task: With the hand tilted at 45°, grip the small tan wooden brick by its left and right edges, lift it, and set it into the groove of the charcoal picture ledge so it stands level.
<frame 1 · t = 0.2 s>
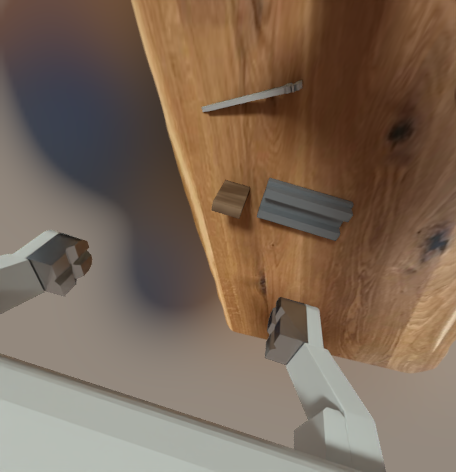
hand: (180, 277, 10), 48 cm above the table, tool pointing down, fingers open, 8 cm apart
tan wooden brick: (236, 187, 60), on the table
caliper: (249, 96, 48), on the table
picture ledge: (302, 207, 59), on the table
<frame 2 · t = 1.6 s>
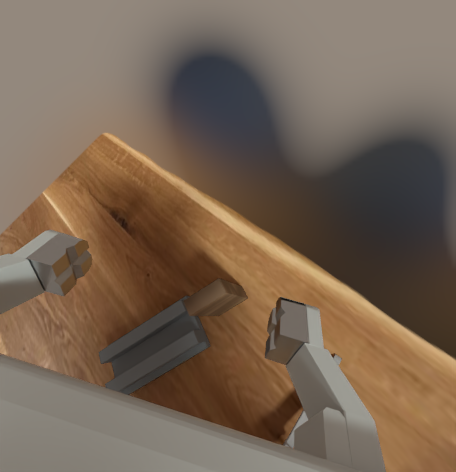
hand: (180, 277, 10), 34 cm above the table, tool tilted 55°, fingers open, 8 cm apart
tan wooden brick: (230, 301, 44), on the table
caliper: (303, 415, 35), on the table
picture ledge: (158, 345, 46), on the table
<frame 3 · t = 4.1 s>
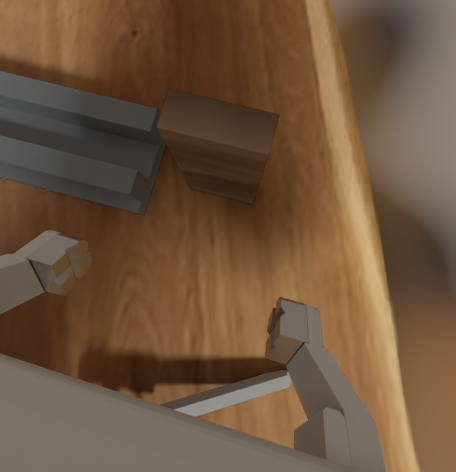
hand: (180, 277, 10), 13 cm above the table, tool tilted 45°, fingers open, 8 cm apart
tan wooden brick: (224, 185, 24), on the table
caliper: (190, 391, 22), on the table
picture ledge: (67, 146, 25), on the table
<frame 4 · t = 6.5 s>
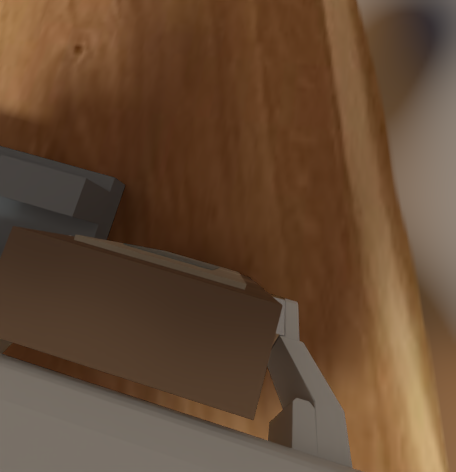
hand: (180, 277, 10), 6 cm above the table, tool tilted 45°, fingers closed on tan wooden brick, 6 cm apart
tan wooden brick: (198, 281, 16), on the table, touching gripper
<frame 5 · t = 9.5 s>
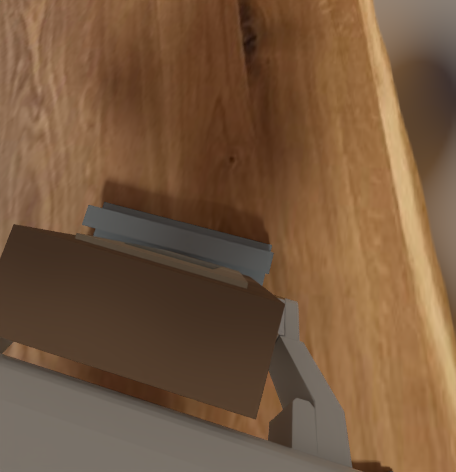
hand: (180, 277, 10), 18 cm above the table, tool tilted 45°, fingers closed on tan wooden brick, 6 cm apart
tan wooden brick: (199, 280, 16), point 12 cm above the table, touching gripper
picture ledge: (177, 265, 28), on the table
when the fingers open (10 cm above the table, at t = 12.4 s): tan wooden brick drops 2 cm, resting on picture ledge.
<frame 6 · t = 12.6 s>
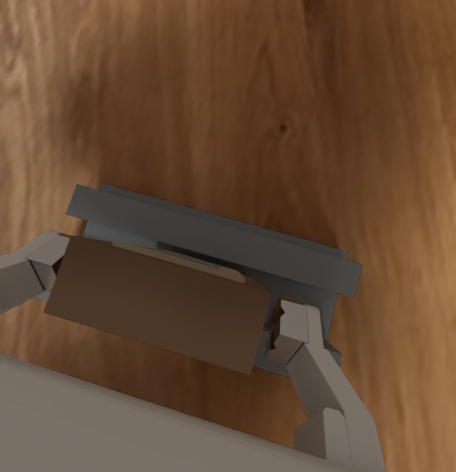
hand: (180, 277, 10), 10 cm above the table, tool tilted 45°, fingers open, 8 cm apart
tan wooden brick: (201, 278, 18), point 2 cm above the table, touching picture ledge
picture ledge: (204, 277, 20), on the table
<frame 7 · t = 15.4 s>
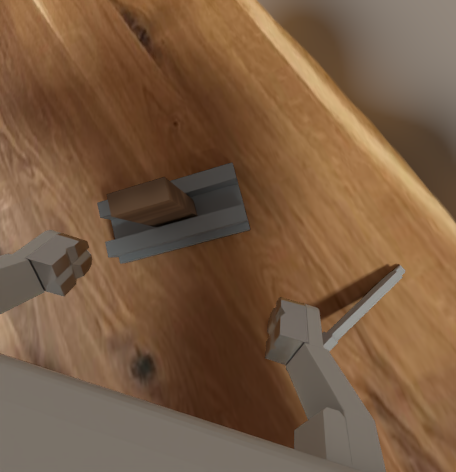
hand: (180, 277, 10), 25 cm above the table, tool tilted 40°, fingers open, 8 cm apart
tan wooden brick: (175, 213, 35), point 1 cm above the table, touching picture ledge
caliper: (342, 314, 33), on the table
picture ledge: (178, 215, 37), on the table
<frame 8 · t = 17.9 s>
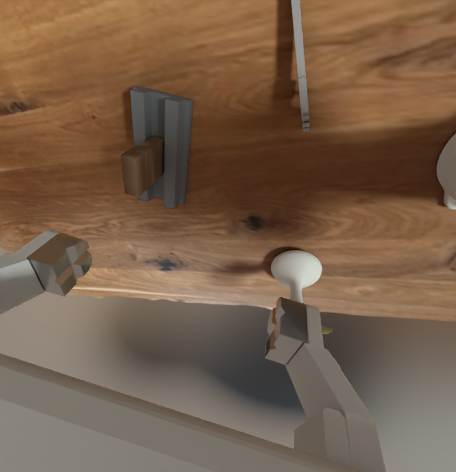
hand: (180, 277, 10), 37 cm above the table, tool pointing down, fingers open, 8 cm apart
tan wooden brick: (161, 153, 45), point 1 cm above the table, touching picture ledge
caliper: (299, 51, 34), on the table
flower in vase: (298, 264, 57), on the table
picture ledge: (164, 151, 46), on the table
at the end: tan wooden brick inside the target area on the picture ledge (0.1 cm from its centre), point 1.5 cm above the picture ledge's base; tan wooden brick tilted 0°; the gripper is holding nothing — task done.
